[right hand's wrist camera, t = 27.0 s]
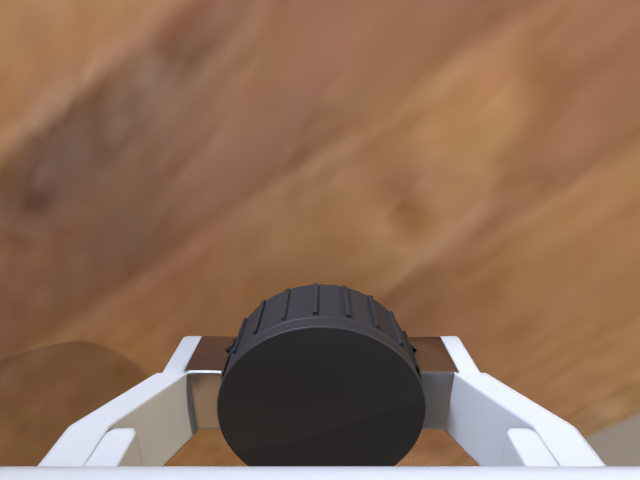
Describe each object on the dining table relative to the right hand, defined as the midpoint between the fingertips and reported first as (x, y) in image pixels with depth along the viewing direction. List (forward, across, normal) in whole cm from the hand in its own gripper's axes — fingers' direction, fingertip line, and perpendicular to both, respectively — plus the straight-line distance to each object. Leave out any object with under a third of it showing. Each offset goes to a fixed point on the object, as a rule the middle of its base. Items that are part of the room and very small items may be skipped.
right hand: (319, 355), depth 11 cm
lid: (-2, 0, 0) cm, 2 cm away
